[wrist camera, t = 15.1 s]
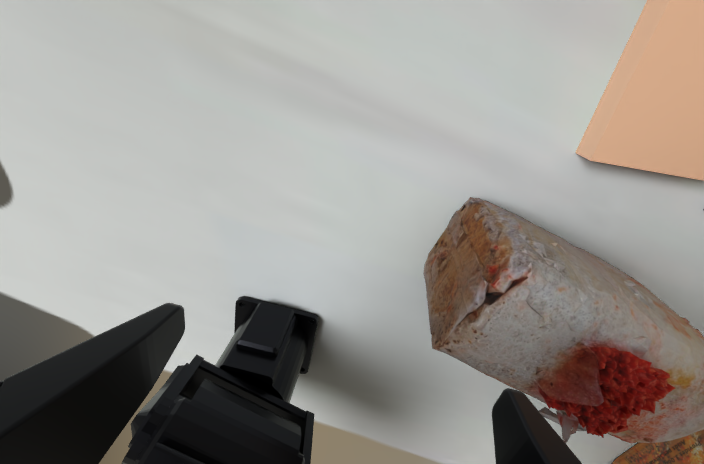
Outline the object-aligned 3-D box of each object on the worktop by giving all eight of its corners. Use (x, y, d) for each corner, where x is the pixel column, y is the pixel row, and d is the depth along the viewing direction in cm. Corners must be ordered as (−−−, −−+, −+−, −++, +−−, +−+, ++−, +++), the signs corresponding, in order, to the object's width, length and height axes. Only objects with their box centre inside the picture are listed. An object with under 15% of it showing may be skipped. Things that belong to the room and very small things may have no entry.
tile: (571, 151, 18) (682, 170, 18) (590, 160, 17) (712, 182, 16) (654, -28, 15) (795, -6, 14) (689, -40, 13) (851, -16, 13)
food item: (662, 278, 21) (849, 435, 12) (568, 355, 24) (660, 517, 16) (475, 179, 19) (535, 274, 11) (406, 276, 23) (409, 404, 14)
